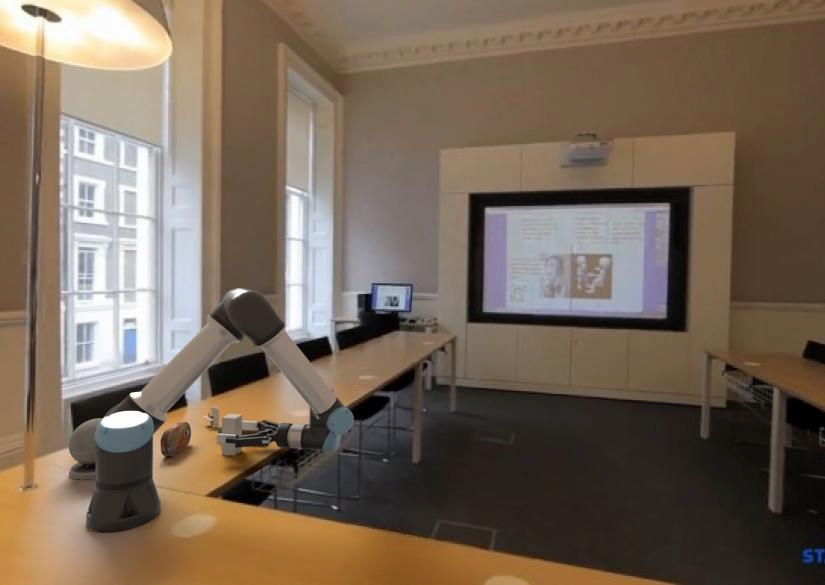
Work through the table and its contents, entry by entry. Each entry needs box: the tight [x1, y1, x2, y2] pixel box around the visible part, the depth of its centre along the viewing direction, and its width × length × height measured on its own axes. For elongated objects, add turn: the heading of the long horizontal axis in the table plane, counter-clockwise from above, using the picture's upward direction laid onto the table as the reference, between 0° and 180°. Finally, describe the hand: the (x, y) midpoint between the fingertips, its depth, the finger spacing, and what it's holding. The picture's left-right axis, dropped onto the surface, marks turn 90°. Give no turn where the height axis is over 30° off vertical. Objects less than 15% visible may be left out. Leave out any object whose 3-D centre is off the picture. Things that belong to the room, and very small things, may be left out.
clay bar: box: [221, 413, 243, 456], centre depth 155 cm, size 4×4×12 cm
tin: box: [159, 421, 192, 457], centre depth 155 cm, size 15×3×8 cm, turn 179°
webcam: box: [68, 417, 104, 480], centre depth 138 cm, size 13×13×15 cm
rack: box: [217, 424, 259, 436], centre depth 167 cm, size 8×17×5 cm, turn 83°
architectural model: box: [202, 405, 220, 428], centre depth 181 cm, size 3×7×7 cm, turn 45°
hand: (228, 431), depth 155 cm, fingers open, 13 cm apart
